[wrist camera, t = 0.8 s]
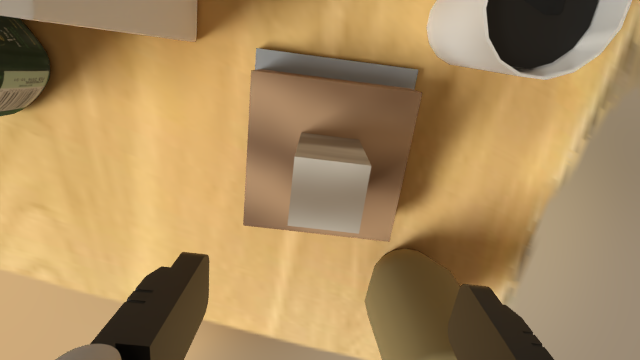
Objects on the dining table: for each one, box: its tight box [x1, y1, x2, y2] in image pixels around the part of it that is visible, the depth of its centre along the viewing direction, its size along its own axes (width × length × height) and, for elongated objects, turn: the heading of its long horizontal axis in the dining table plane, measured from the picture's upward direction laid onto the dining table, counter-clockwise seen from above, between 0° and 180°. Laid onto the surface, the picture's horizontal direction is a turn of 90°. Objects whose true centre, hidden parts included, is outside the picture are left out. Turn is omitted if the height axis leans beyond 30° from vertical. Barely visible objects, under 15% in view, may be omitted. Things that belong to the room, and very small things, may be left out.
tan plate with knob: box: [243, 69, 422, 242], centre depth 22 cm, size 11×11×10 cm
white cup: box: [427, 0, 632, 80], centre depth 20 cm, size 7×7×10 cm
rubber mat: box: [255, 48, 418, 90], centre depth 27 cm, size 14×12×1 cm
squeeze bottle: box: [365, 249, 460, 360], centre depth 23 cm, size 8×8×18 cm
